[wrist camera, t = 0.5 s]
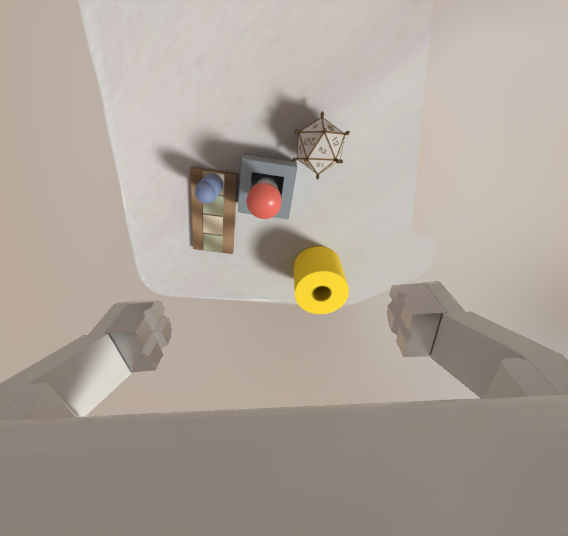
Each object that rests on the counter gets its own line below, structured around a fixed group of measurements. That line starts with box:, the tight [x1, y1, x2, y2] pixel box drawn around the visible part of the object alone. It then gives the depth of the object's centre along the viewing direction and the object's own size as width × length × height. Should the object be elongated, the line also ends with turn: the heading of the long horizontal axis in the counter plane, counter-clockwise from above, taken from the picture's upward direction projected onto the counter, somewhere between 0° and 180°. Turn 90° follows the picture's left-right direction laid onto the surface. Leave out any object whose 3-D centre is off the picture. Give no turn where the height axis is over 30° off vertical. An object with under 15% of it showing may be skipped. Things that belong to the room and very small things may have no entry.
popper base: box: [238, 154, 297, 219], centre depth 48 cm, size 9×9×4 cm
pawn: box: [195, 173, 224, 204], centre depth 45 cm, size 4×4×7 cm
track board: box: [190, 167, 237, 254], centre depth 52 cm, size 16×8×1 cm, turn 172°
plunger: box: [247, 177, 281, 219], centre depth 44 cm, size 5×5×7 cm
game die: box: [292, 111, 350, 180], centre depth 43 cm, size 9×8×10 cm
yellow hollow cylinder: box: [294, 246, 349, 314], centre depth 55 cm, size 10×10×9 cm
